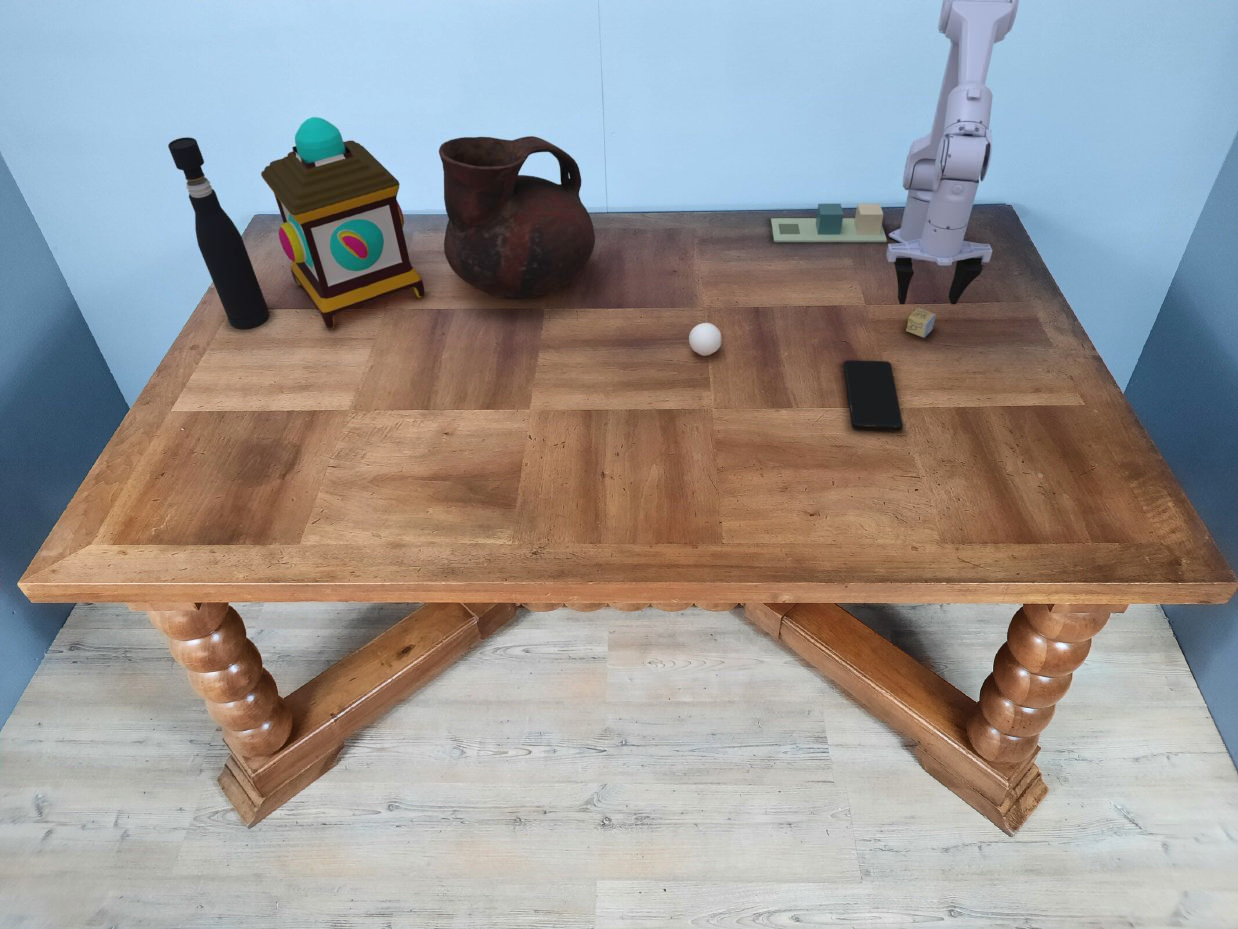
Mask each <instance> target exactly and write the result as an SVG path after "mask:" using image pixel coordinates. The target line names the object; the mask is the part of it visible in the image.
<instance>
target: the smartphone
mask: <svg viewBox="0 0 1238 929" xmlns="http://www.w3.org/2000/svg"><path fill="white" fill-rule="evenodd" d="M843 371H844V378H845V379H844V380H845V386H846V391H847V392H846V394H847V402H848V408H849V409H848V410H849V417H850V424H851V428H852V429H854V430H859V431H861V430H863V431H889V432H891V431H893V432H898V431H899V432H900V431H901V430H902V429H903V427H904V424H903V419H902V414H901V410H900V405H899V404H900V403H899V399H898V394H897V393H898V392H897V388H896V383H895V379H894V378H895V377H894V373H893V368H892V363H891V362H890V361H887V360H853V359H852V360H851V359H849V360H845V361H844V362H843Z"/></svg>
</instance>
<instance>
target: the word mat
mask: <svg viewBox="0 0 1238 929" xmlns="http://www.w3.org/2000/svg"><path fill="white" fill-rule="evenodd" d="M854 221H855V217H843V221H842V227H841V233H840V235H818V232H817V228H816V217H815V218H814V217H811V218H809V217H806V218H805V217H803V218H801V217H799V218H797V217H796V218H795V217H793V218H792V217H791V218H789V217H787V218H786V217H785V218H784V217H783V218H781V217H779V218H778V217H777V218H772V217H771V218H770V225H771V230H772V237H773V243H887V242H888V239H887V236H886V233H885V229H884V228H883V224H882V225H881V230H880V234H857V232H856V228H855V225H854Z"/></svg>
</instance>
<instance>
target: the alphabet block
mask: <svg viewBox="0 0 1238 929" xmlns="http://www.w3.org/2000/svg"><path fill="white" fill-rule="evenodd" d="M936 317H937V314H936V313H934V312H931V311H928V310H926V309H923V308H920V307H917V308H916V309H915V310H914V311H913V312H912V313H911V314H910V315H909V316H908V319H907V326H906V329H905V330H906V332H907V333H910V334H912V335H916V336H918V337H920V338H923V339H925V338H926V337H927V336H928V335H929V334H930V333H931V332H932V330H934V325H935V321H936Z"/></svg>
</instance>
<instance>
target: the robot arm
mask: <svg viewBox="0 0 1238 929" xmlns="http://www.w3.org/2000/svg"><path fill="white" fill-rule="evenodd" d="M1019 3H1020V0H942V3H941V9H940V16H939V20H938V25H937V29H938V33H940V34H943V35H944V37H945V38H946V39H949V42H950V47H949V52H948V56H947V60H946V65H945V69H944V73H943V78H942V82H941V87H940V91H939V95H938V100H937V104H936V108H935V112H934V117H933V121H932V126H931V130H930V132H929V133H928V134H926V135H924V136H922V137H919V138H917V139H915V140H914V141H912V144H910V147H909V150H908V154H907V156H906V160H905V164H904V170H903V176H902V188H903V189H904V191H907V192H908V193H907V196H906V201H905V205H904V211H903V214H902V219H901V224H900V228H897V229H896V230H894V231H891V232H889V233H888V237H889V238H891V239H893V240H895V241H896V243H888V244H887V249H886V253H885V256H886V260H887V262H888V263H893V265H894V269H895V273H896V279H897V300H898V303H899V305H905V304H906V301H907V299H908V298H907V297H908V291H909V287H910V284H911V281H912V279H913V276H914V274H915V271H914V269H913V261H927V262H934V263H936V265H937V266H940V267H941V266H942V267H943V266H945V267H947V266H948V267H949V266H952V265H953V262H956V264H955V269H954V273H953V274H954V275H953V278H952V281H951V285H950V288H949V293H948V300H949V302H950V305H953V306H954V305H957V303H958V302H959V299H960V298H961V297H962V295H963V293H964V292H965V291H966V290H967V288H968V287H969V286H970V284H972V282H973V281H974V280H975V279H976V278H978V277H979V276H980V275H981V274H982V272H983V270H984V267H983V264H982V263H990V261H991V258H992V254H993V249H992V247H991V245H990V243H981V242H980V243H979V242H973V241H967V240H964V239H965V235H966V232H967V229H968V225H969V221H970V218H971V214H972V210H973V207H974V202H975V200H976V195H977V192H978V187H979V184H980V182H983V181H984V180H985V178H986V176H987V174H988V171H989V167H990V164H991V158H992V153H993V152H992V151H993V137H992V129H990V121H991V114H992V104H993V98H994V97H993V96H994V95H993V93H992V91H991V89H990V88H989V87H988V86H987V85H986V80H987V76H988V72H989V68H990V64H991V58H992V53H993V48H994V45H995V44H997V43H1000V42H1002V41H1004V40H1005V39H1006V38H1005V36H1006V35H1007V34H1008V33H1010V32H1011V31H1012V29H1013V26H1014V23H1015V20H1016V17H1017V13H1018V9H1019ZM897 242H898V243H897Z"/></svg>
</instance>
